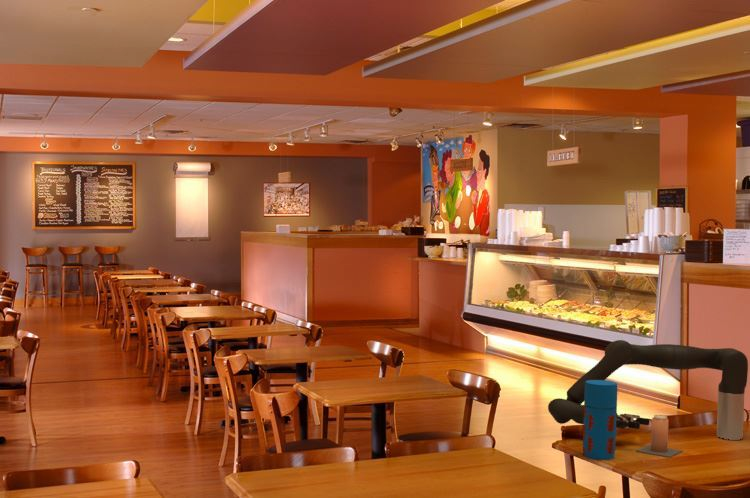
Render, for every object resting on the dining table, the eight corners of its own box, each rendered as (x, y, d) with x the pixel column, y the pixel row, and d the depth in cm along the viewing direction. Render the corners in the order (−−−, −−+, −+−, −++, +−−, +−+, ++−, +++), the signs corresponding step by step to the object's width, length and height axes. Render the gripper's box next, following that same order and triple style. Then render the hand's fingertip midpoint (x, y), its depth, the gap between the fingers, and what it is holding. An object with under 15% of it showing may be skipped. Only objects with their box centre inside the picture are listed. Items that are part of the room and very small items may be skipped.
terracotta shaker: (654, 447, 335) (655, 413, 334) (669, 450, 331) (671, 416, 331) (648, 450, 330) (649, 416, 330) (663, 453, 327) (665, 418, 327)
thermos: (612, 452, 327) (615, 380, 326) (617, 460, 316) (620, 385, 316) (580, 451, 328) (583, 379, 327) (584, 458, 317) (586, 384, 317)
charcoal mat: (649, 445, 339) (649, 444, 339) (682, 451, 332) (682, 450, 332) (636, 451, 330) (636, 450, 330) (669, 457, 322) (669, 456, 322)
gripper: (593, 409, 338) (636, 416, 328) (609, 404, 350) (652, 410, 340) (592, 430, 339) (636, 438, 329) (609, 424, 350) (651, 431, 340)
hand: (644, 424), depth 334 cm, fingers open, 8 cm apart
